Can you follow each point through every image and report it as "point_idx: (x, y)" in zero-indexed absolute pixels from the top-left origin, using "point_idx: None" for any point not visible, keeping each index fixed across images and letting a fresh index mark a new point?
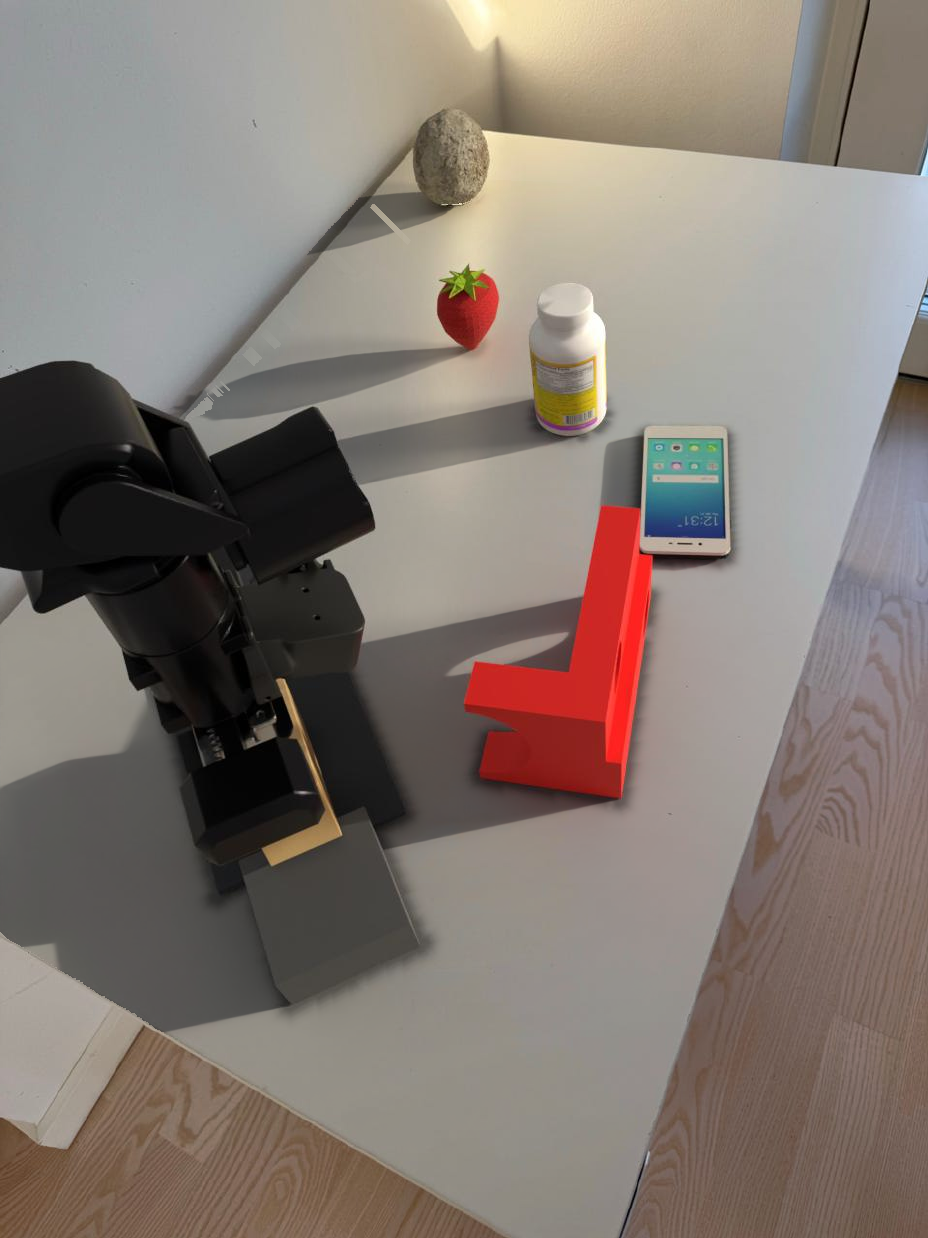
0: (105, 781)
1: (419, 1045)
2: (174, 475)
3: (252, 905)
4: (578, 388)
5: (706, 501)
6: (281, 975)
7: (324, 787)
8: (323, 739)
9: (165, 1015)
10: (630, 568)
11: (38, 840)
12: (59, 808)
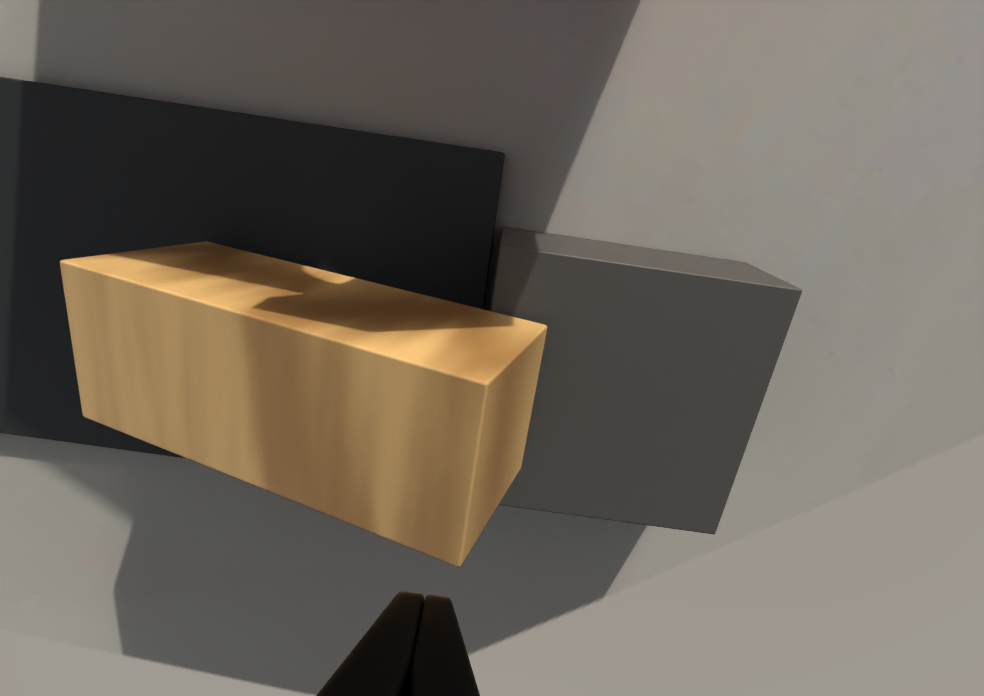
0: (176, 557)
1: (873, 342)
2: None
3: (560, 512)
4: None
5: None
6: (706, 520)
7: (418, 308)
8: (261, 223)
9: (576, 601)
10: None
11: (235, 650)
12: (195, 618)
